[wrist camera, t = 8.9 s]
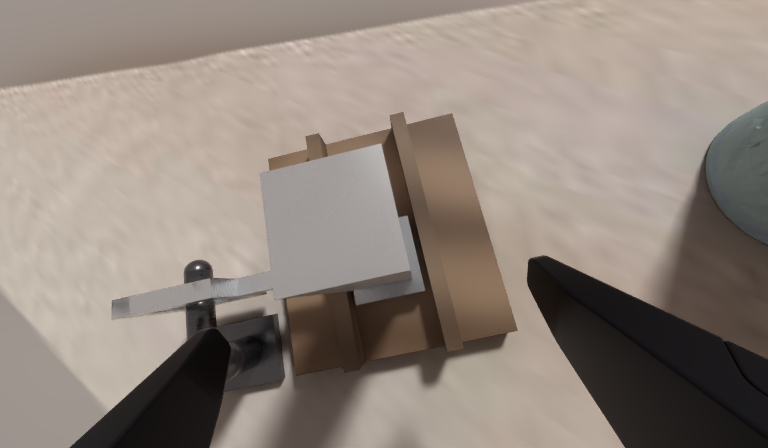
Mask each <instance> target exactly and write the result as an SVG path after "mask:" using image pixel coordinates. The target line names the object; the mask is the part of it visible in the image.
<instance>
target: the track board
mask: <svg viewBox="0 0 768 448" xmlns="http://www.w3.org/2000/svg"><path fill="white" fill-rule="evenodd" d="M390 120H391V127H392V128H391V129H387V130H383V131H379V132H375V133H371V134H367V135H363V136H359V137H355V138H351V139H347V140H343V141H339V142H335V143H331V144H327V145H326V144H325V143H324V141H323V140H322V138H321V136H320V135H319V133H318V134H314V135H310V136H306V143H307V150H303V151H299V152H295V153H291V154H287V155H283V156H279V157H275V158H271V159H268V161H269V169H270V171H271V170H275V169H279V168H283V167H287V166H292V165H296V164H300V163H304V162H308V161H312V160H316V159H320V158H324V157H328V156H332V155H336V154H340V153H344V152H348V151H352V150H356V149H361V148H365V147H369V146H373V145H377V144H381V145H382V149H383V154H384V158H385V162H386V167H387V171H388V175H389V180H390V184H391V188H392V193H393V197H394V201H395V206H396V210H397V214H398V218H399V217H403V216H408V220H409V224H410V229H411V233H412V237H413V241H414V245H415V250H416V254H417V258H418V262H419V266H420V271H421V275H422V279H423V283H424V287H425V291H421V292H416V293H412V294H407V295H402V296H398V297H393V298H388V299H384V300H379V301H374V302H370V303H365V304H360V305H356V302H355V296H354V291H347V292H338V293H329V294H321V295H312V296H304V297H295V298H287V299H286V302H287V310H288V318H289V326H290V334H291V341H292V349H293V357H294V365H295V373H296V376H297V375H302V374H307V373H312V372H317V371H322V370H327V369H332V368H337V367H342V366H343V369H344V373H345V372H350V371H355V370H360V369H361V367H362V366H363V364H364V362H366V361H371V360H376V359H381V358H386V357H391V356H396V355H401V354H405V353H410V352H415V351H420V350H425V349H430V348H435V347H440V346H445V348H446V350H447V352H449V351H454V350H459V349H464V346H463V342H464V341H469V340H474V339H479V338H484V337H489V336H494V335H499V334H504V333H509V332H514V331H518V330H517V327H516V323H515V320H514V317H513V314H512V310H511V307H510V304H509V300H508V297H507V294H506V290H505V287H504V284H503V280H502V277H501V274H500V270H499V267H498V264H497V260H496V257H495V254H494V251H493V247H492V244H491V241H490V237H489V234H488V231H487V227H486V224H485V221H484V217H483V214H482V211H481V207H480V204H479V201H478V197H477V194H476V191H475V188H474V184H473V181H472V178H471V174H470V171H469V168H468V164H467V161H466V158H465V154H464V151H463V148H462V144H461V141H460V138H459V134H458V131H457V128H456V125H455V121H454V118H453V115H452V114H447V115H443V116H439V117H435V118H431V119H427V120H423V121H419V122H415V123H411V124H406V121H405V117H404V113H403V112H401V113H398V114H394V115H390Z"/></svg>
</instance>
